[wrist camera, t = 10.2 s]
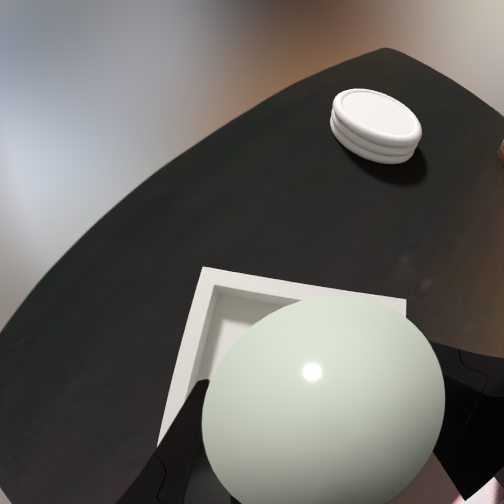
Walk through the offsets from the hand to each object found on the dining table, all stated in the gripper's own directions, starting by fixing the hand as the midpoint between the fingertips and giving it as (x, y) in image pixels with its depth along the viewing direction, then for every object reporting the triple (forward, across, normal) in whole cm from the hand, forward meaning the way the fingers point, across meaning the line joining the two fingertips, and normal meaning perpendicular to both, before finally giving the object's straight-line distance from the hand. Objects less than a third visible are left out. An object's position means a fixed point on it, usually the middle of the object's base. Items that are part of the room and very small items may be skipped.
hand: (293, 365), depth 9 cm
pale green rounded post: (+4, 0, +6) cm, 8 cm away
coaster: (+20, -17, -7) cm, 27 cm away
